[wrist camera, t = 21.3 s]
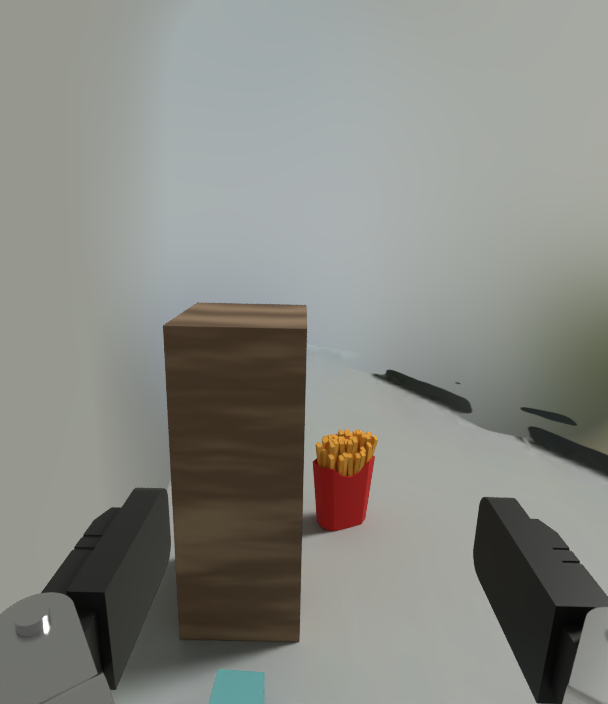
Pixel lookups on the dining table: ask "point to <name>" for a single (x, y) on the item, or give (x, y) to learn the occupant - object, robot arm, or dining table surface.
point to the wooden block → (237, 468)
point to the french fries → (343, 478)
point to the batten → (238, 687)
